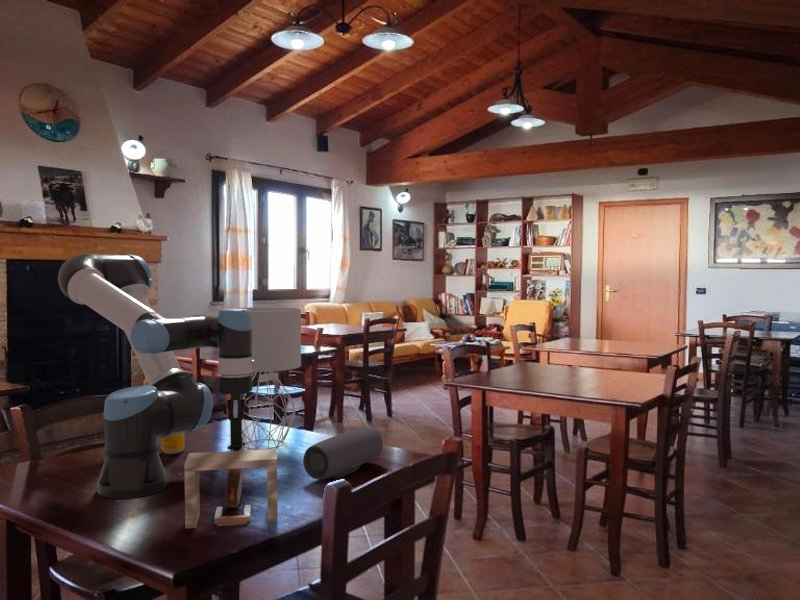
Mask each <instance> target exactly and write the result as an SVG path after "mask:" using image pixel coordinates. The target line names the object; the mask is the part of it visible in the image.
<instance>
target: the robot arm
mask: <svg viewBox="0 0 800 600" xmlns="http://www.w3.org/2000/svg"><path fill="white" fill-rule="evenodd" d="M57 275H58V276H57V283H58V286H59V288H60V291H61V292H62V293H63V294H64V296H66V297H67V298H68V299H69V300H71V301H72V302H74V303H76V304H79V305H86V306H87V307H89V308H90V309H91V310H93V311H94V312H96V313H98V314H99V316H101V317H104V319H106V320H108V321H109V322H111V323H112V324H113V325H115V326H116V327H118V328H119V329H121V330H123V331H124V334H125V335H126V338H127V340H128V342H129V344H130V347H131V348H132V351H133V352H134V355H135V357H136V359H137V361H138V363H139V366H140V369H142V372H143V374H144V377H145V379H146V381H147V383H148V385H145V384H144V385H137V386H129V387H124V388H121V389H118V390H115V391H113V392H111V393H109V394H108V395H107V397H105V400H104V405H103V406H104V408H103V414H102V415H103V419H104V420H103V421H104V462H103V464H102V467H101V469H100V474H99V476H98V480H97V483H96V484H97V485H96V486H97V487H96V488H97V494H98V495H99V496H100V497H103V498H107V499H115V500H116V499H117V500H119V499H133V498H140V497H145V496H149V495H153V494H155V493H156V494H157V493H158V492H161V491H162V490H164V489H165V488H166V487H167V486H168V485H167V484H168V483H167V482H168V481H167V480H168V479H167V474H166V470H165V468H164V466H163V465H164V464H163V462H162V459H161V457H160V454H159V439H162V438H163V437H168V436H172V435H176V434H181V433H184V434H186V433H191V432H193V431H195V430H199V429H201V428H203V427H204V426H206V425H207V424H208V423H209V420H210V419H211V417H212V413H213V411H212V410H213V407H214V404H213V403H214V402H213V401H214V399H213V396H212V392H211V390H210V389H209V387H208V386H207V385H206V384H204V383H201V382H195V380H194V378H193V376H192V374H191V372H189V371H187V370H183V369H182V368H181V365H180V364H179V362H178V360H177V358H176V355H175V353H174V352H173V351H175V352H176V351H184V350H192V349H201V348H202V349H203V348H214V349H218V374H219V375H221V376H219V378H218V388H219V389H218V390H219V393H221V394H225V395H228V394H229V395H230V398H228V399H227V401H226V408H227V411H228V412H227V413H228V414H227V416H228V417H227V418H228V420H229V421H230V422H229V425H230V427H229V429H230V432H229V433H230V434H229V435H230V444H229V445H228V446H227V450H230V451H243V447H244V446H246V444H245V443H246V441H244V442H242V440H243V438H242V437H243V435H242V431H243V421H244V420H243V418H244V419H245V417H244V416H245V413H244V412H245V408H246V404H245V403H246V401H245V400H246V399H245V398H246V397H245V398H244V399H243V397H242V394H246V393H250V392H252V391H253V381H252V378H253V375H252V373H253V372H252V365H251V364H254V363H255V361H254V360H251V359H252V321H251V312H250V311H249V310H248V309H241V308H242V307H239V308H240V309H237V308H238V307H234V308H233V307H232V308H221V309H218V310H219V311H218V315H217V316H216V315H215V316H213V315H205V314H196V315H195V314H194V315H190V316H184V317H165V316H163V315H162V314H160V313H158V312H157V311H155V310H153V307H152V305H151V304H150V301H149V299H148V297H149V296H150V292H151V287H152V283H153V279H151V277H152V271H151V269H150V267H149V264H147V261H145V260H144V258H142V257H141V256H139V255H137V254H129V253H115V254H114V253H91V252H89V253H87V252H84V253H79V254H75V255H73V256H71V257H70V258H68V259H67V260H65V262H63V264H62V265H61V267H60V269H59V271H58V274H57ZM251 375H252V376H251ZM243 476H244V471H243V472H242V477H243Z"/></svg>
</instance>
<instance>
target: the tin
mask: <svg viewBox="0 0 800 600" xmlns="http://www.w3.org/2000/svg"><path fill="white" fill-rule="evenodd" d="M227 470H228V472H227V476H226V484H225V486H226V487H225V506H224V507H225V509H236V508H238V507H239V506H240V505H239V504H240V502H241V499H242V498H241V497H242V493H243V492H242V491H243V476H242V472H243V473H244V468H239V469H227Z"/></svg>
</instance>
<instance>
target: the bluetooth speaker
mask: <svg viewBox="0 0 800 600" xmlns="http://www.w3.org/2000/svg"><path fill="white" fill-rule="evenodd" d="M383 447H384V442H383V440H382V437H381V434H380V432H379V431H378V430H377V429H375V428H374V427H370V426H369V427H368V426H367V427H362V428H361V427H360V428H357V429H353V430H350V431H346V432H343V433H341V434H337V435H334V436H331V437H328V438H326V439H324V440H321V441H319V442H317V443H314V444H312V445H311V446H308V448H307V449H306V450H305V452H304V454H303V459H302V463H303V468H304V470H305V473H306V474H307V475H308V476H309V477H310V478H312V479H314V480H318V481H319V480H326V479H329V478H331V479H340V478H342V476H343V477H346V476H348V475H350V474H352V473H351V472H353V471H355V472H357V471H359V470H360V469H359V468H360V467H361V466H363V465H365V464H367V463H368V462H370V461H372V460H374V459H375V458H376V457H378V456H379V455H380V454H382V452H383ZM358 469H359V470H358ZM356 470H357V471H356ZM349 473H350V474H349ZM353 473H354V472H353ZM347 474H348V475H347ZM345 475H346V476H345ZM339 477H340V478H339Z"/></svg>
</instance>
